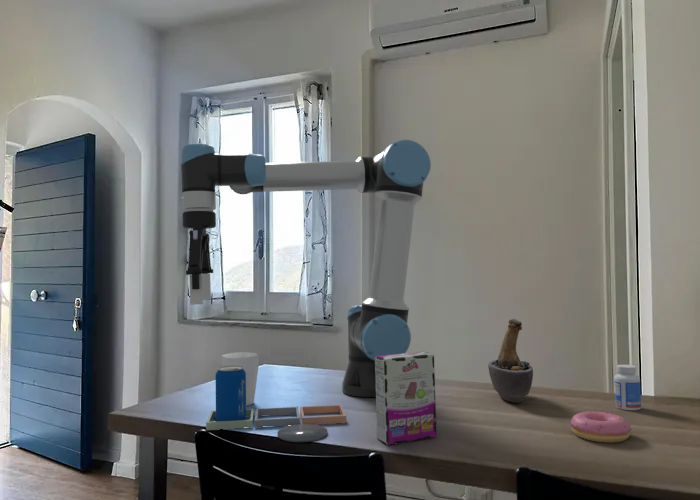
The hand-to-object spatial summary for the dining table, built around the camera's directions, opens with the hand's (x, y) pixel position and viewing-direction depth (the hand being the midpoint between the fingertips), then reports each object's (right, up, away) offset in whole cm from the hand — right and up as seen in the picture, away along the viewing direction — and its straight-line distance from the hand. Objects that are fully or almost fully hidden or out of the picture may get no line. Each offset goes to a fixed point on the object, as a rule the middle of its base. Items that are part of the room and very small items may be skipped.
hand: (201, 302), depth 130 cm
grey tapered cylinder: (+7, -26, +9) cm, 29 cm away
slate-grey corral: (+19, -25, -7) cm, 32 cm away
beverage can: (+9, -26, -8) cm, 28 cm away
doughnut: (+84, -25, -20) cm, 90 cm away
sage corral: (+9, -26, -8) cm, 28 cm away
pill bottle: (+99, -25, 0) cm, 103 cm away
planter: (+75, -25, +10) cm, 80 cm away
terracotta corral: (+29, -25, -6) cm, 39 cm away
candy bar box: (+46, -25, -20) cm, 56 cm away
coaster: (+25, -25, -17) cm, 39 cm away
